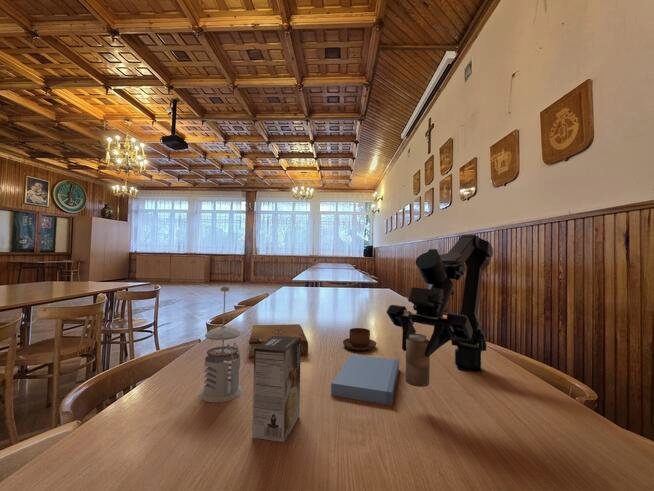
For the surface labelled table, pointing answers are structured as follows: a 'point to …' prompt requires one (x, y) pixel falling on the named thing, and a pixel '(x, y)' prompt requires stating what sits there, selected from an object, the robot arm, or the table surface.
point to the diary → (266, 331)
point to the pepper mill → (417, 360)
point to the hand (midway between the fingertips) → (414, 352)
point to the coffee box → (276, 387)
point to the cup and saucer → (359, 339)
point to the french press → (222, 365)
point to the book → (367, 379)
